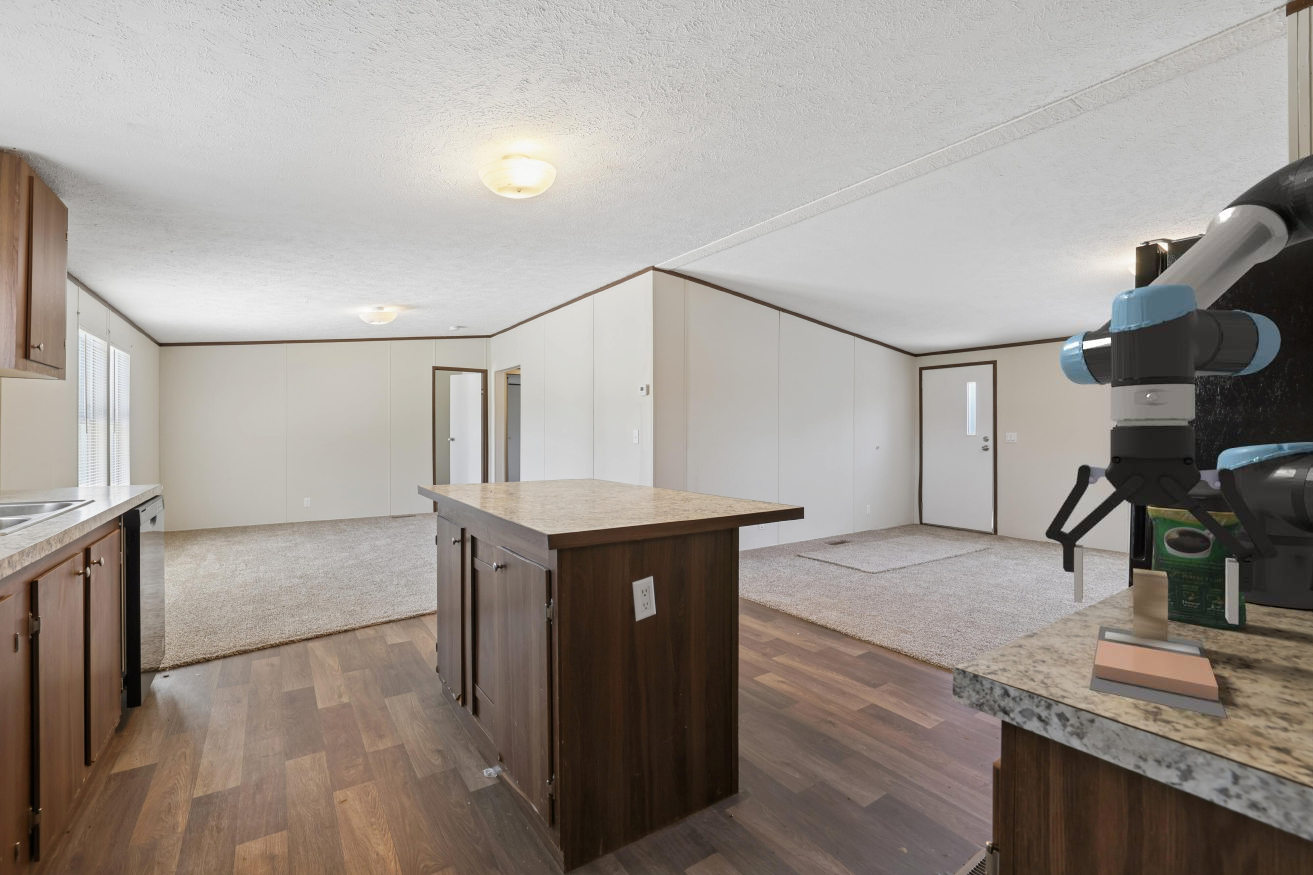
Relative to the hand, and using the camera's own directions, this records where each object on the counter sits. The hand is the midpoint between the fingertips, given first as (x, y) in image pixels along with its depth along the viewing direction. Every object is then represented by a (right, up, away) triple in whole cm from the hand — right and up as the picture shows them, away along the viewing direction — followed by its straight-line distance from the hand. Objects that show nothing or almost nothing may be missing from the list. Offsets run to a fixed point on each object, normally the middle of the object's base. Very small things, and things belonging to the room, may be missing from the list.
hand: (1150, 609), depth 70 cm
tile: (-4, -3, -5) cm, 8 cm away
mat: (-5, -4, -6) cm, 9 cm away
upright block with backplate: (0, -4, 0) cm, 4 cm away
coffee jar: (+14, -5, +10) cm, 18 cm away
